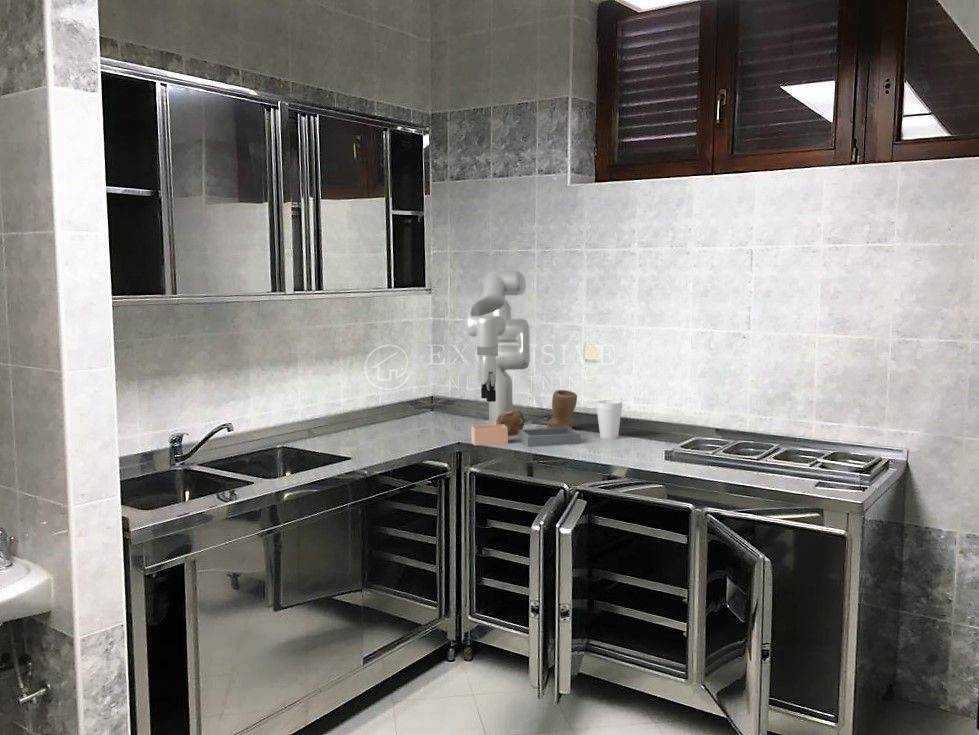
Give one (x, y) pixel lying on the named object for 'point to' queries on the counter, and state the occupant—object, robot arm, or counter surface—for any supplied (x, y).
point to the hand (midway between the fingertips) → (488, 399)
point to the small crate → (489, 434)
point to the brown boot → (562, 409)
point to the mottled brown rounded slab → (511, 421)
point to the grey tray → (549, 436)
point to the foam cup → (609, 417)
